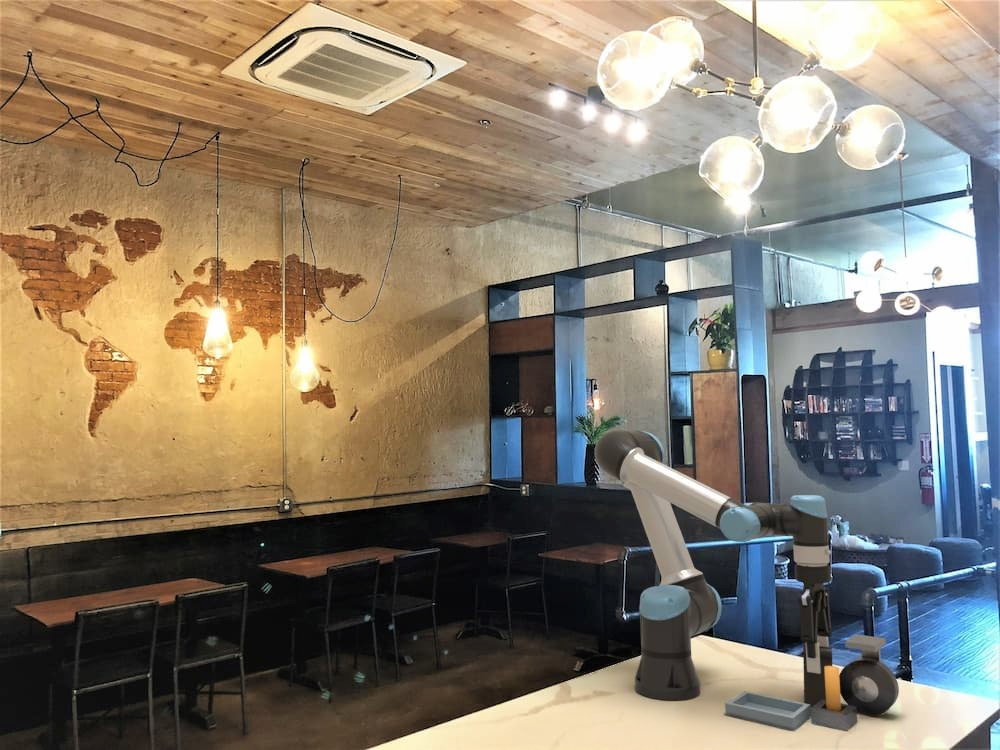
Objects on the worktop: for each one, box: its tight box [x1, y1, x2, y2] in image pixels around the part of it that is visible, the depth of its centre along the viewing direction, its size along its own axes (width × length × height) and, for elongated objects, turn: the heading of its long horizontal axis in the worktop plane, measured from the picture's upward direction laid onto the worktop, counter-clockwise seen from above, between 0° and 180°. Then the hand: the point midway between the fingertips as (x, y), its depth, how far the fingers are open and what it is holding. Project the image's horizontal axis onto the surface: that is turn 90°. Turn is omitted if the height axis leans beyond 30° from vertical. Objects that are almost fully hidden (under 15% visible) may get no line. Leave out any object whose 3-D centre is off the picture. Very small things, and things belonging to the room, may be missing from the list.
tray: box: [724, 690, 812, 732], centre depth 161 cm, size 14×10×2 cm
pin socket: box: [810, 700, 858, 732], centre depth 157 cm, size 7×7×3 cm
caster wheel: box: [839, 634, 900, 717], centre depth 163 cm, size 11×8×15 cm
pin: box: [824, 665, 842, 712], centre depth 157 cm, size 3×3×11 cm
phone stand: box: [802, 644, 833, 708], centre depth 170 cm, size 9×6×12 cm, turn 159°
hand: (818, 668), depth 169 cm, fingers open, 5 cm apart
